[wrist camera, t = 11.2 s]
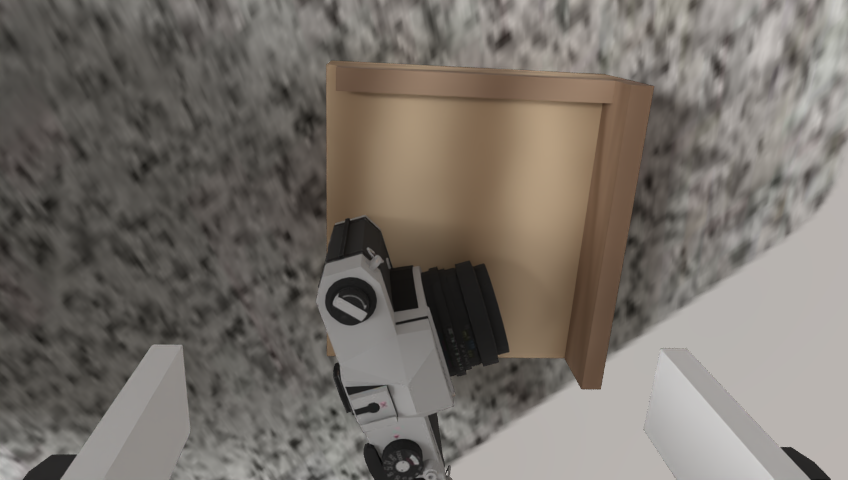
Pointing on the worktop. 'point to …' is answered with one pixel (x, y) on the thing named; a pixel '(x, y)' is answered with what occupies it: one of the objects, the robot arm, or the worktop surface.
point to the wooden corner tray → (497, 187)
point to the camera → (403, 345)
